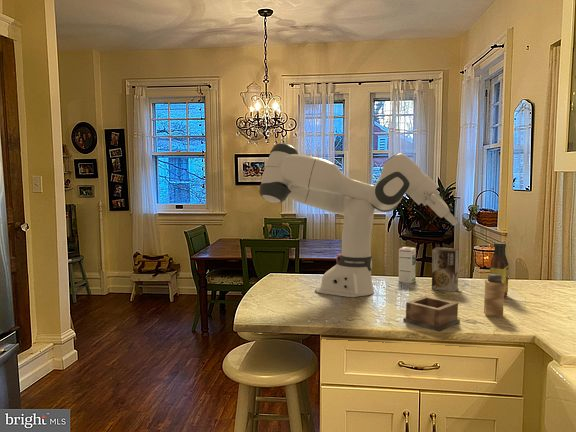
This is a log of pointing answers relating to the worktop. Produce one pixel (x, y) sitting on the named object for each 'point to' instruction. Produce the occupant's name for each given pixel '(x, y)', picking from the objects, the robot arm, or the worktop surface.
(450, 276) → the coffee box
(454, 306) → the socket
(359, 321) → the worktop surface
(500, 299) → the cylinder
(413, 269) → the syrup box
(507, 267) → the sauce bottle
